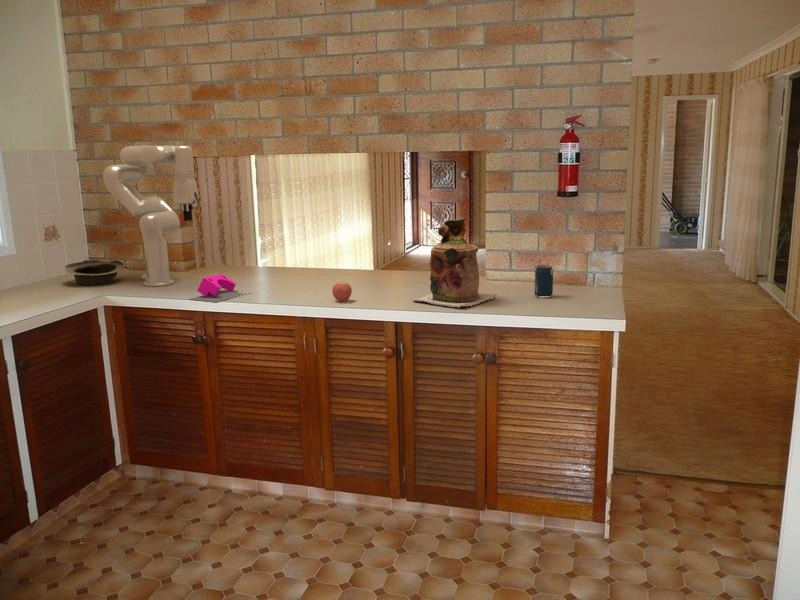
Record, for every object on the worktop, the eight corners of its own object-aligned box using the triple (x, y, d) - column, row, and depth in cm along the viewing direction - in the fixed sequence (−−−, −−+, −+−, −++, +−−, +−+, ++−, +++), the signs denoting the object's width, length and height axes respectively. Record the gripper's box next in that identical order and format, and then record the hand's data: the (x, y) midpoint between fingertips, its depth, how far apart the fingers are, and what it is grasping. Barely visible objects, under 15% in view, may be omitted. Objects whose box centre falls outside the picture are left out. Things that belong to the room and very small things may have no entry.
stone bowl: (98, 275, 334) (97, 256, 332) (137, 283, 324) (136, 263, 322) (53, 283, 312) (52, 263, 310) (93, 292, 302) (92, 271, 300)
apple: (354, 299, 273) (353, 279, 271) (348, 303, 266) (348, 282, 264) (336, 299, 274) (335, 278, 273) (330, 302, 267) (329, 282, 266)
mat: (188, 299, 276) (188, 299, 276) (226, 290, 296) (226, 289, 295) (216, 302, 270) (216, 301, 270) (252, 292, 289) (252, 291, 289)
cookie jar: (447, 292, 286) (447, 213, 279) (499, 299, 270) (500, 216, 264) (409, 302, 267) (408, 218, 260) (463, 310, 252) (463, 221, 245)
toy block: (196, 290, 279) (211, 300, 278) (203, 277, 277) (218, 287, 276) (215, 286, 293) (230, 296, 292) (222, 274, 292) (236, 283, 291)
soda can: (555, 296, 274) (556, 266, 271) (546, 299, 269) (546, 268, 266) (540, 294, 278) (541, 264, 276) (530, 296, 274) (531, 266, 271)
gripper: (164, 176, 290) (168, 220, 294) (192, 176, 284) (195, 222, 287) (177, 175, 297) (181, 219, 300) (205, 176, 290) (208, 220, 294)
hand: (188, 220), depth 294 cm, fingers closed
